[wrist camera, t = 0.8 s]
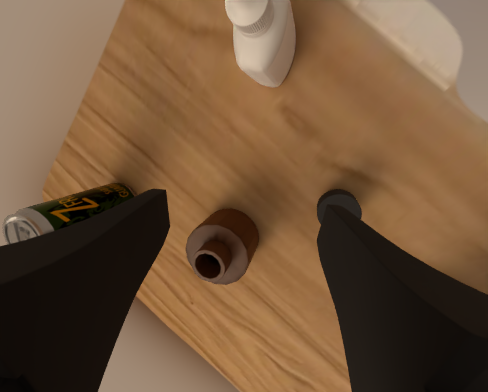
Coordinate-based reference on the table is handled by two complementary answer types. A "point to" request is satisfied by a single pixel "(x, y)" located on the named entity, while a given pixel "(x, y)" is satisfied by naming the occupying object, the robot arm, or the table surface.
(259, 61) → the eye dropper bottle
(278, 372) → the table surface
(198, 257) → the amber bottle
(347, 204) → the cylinder
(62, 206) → the beer can
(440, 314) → the robot arm
